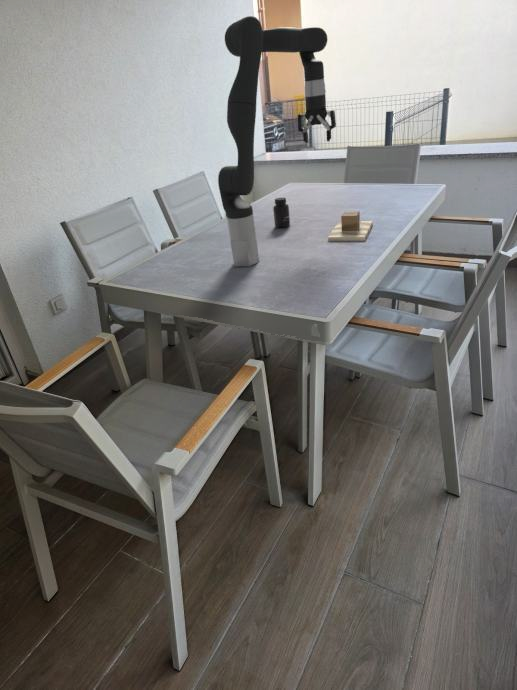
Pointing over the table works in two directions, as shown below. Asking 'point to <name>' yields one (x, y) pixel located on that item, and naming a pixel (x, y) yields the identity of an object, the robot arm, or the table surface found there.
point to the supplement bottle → (281, 213)
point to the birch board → (351, 232)
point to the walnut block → (350, 221)
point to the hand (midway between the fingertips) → (317, 142)
